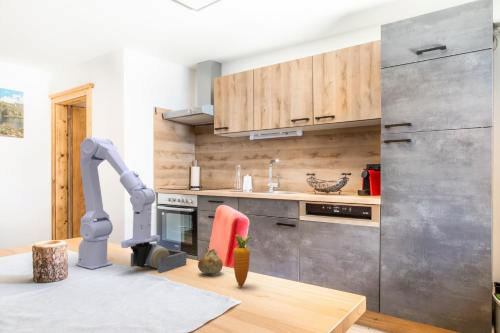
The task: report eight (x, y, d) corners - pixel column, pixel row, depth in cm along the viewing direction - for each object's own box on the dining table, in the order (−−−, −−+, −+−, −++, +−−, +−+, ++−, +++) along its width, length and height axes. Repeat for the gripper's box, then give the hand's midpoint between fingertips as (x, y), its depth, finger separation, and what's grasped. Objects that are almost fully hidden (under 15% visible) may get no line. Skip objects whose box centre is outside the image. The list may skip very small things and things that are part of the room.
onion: (194, 272, 109) (194, 248, 109) (217, 270, 113) (217, 246, 113) (202, 279, 102) (202, 253, 102) (226, 276, 106) (226, 250, 106)
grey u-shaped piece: (130, 266, 115) (130, 253, 116) (157, 258, 126) (157, 247, 126) (160, 272, 108) (160, 259, 108) (186, 264, 119) (186, 252, 119)
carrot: (251, 285, 97) (252, 233, 97) (246, 291, 92) (247, 236, 93) (235, 283, 99) (236, 232, 99) (229, 289, 94) (230, 235, 94)
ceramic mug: (151, 271, 110) (153, 247, 110) (139, 266, 115) (140, 243, 116) (179, 266, 117) (180, 244, 118) (166, 261, 123) (167, 240, 123)
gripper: (132, 228, 102) (131, 273, 102) (166, 223, 115) (165, 263, 114) (117, 226, 106) (116, 269, 106) (152, 221, 119) (151, 260, 118)
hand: (140, 266), depth 110 cm, fingers closed
